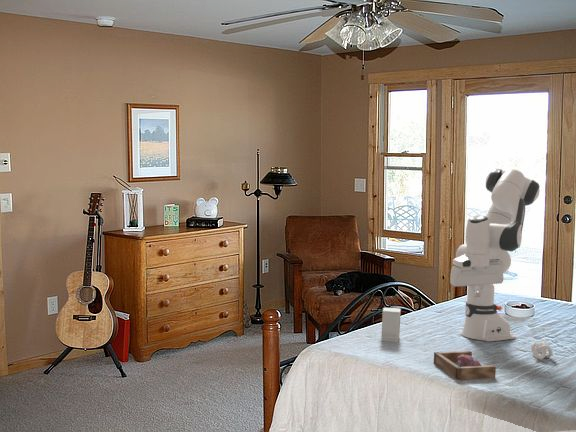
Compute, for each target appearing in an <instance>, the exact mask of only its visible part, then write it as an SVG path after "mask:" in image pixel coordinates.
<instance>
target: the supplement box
mask: <svg viewBox="0 0 576 432" xmlns="http://www.w3.org/2000/svg"><path fill="white" fill-rule="evenodd" d="M401 310H402V309H401V308H398V307H397V308H396V307H383V308H382V315H381V318H382V319H381V336H380V337H381V339H380V341H382V342H389V343H390V342H391V343H399V342H400V334H401V333H400V332H401V313H402V312H401Z"/></svg>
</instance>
